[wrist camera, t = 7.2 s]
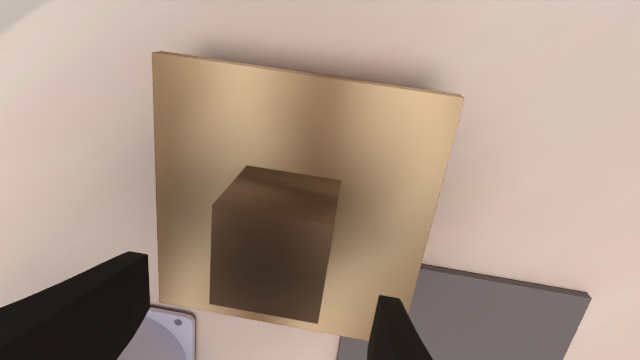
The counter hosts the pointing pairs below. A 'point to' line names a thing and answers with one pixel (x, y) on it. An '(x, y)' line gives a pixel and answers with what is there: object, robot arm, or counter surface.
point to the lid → (293, 190)
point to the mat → (486, 318)
